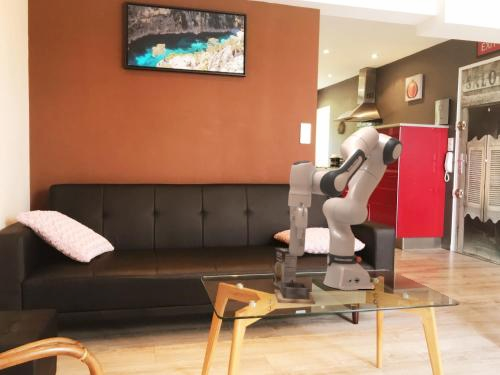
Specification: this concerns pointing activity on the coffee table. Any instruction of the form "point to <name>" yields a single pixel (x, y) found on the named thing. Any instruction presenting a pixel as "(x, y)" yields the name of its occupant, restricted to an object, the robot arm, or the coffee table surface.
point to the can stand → (294, 293)
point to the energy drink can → (296, 240)
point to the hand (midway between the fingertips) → (297, 237)
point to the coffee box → (284, 266)
